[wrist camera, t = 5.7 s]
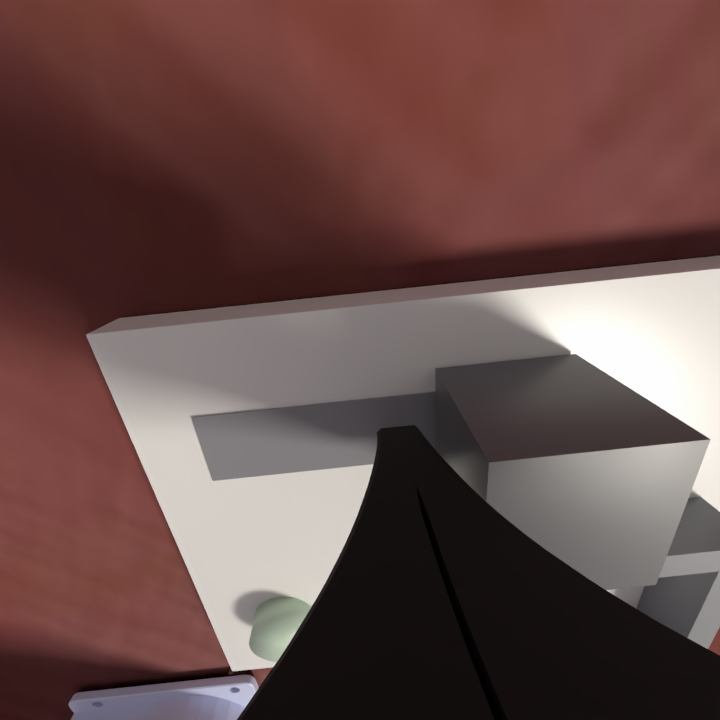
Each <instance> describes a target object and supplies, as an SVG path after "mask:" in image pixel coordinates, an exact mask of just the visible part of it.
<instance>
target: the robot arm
mask: <svg viewBox="0 0 720 720" xmlns="http://www.w3.org/2000/svg"><path fill="white" fill-rule="evenodd" d="M68 705H69V708H70V709H71V710H72V711H73V712H74V714H73V716H72V718H71V720H720V656H719V655H717V654H716V653H714V652H712V651H710V650H708V649H706V648H705V647H703V646H701V645H699V644H697V643H696V642H694V641H692V640H690V639H688V638H687V637H685V636H683V635H681V634H679V633H677V632H676V631H674V630H672V629H670V628H668V627H667V626H665V625H663V624H661V623H659V622H658V621H656V620H654V619H652V618H651V617H649V616H647V615H646V614H644V613H642V612H641V611H639V610H638V609H636V608H634V607H633V606H631V605H629V604H628V603H626V602H624V601H623V600H621V599H620V598H618V597H616V596H615V595H613V594H611V593H610V592H608V591H606V590H605V589H603V588H602V587H600V586H599V585H597V584H595V583H594V582H592V581H591V580H589V579H588V578H586V577H585V576H584V575H582V574H581V573H579V572H578V571H576V570H575V569H573V568H572V567H570V566H569V565H567V564H566V563H565V562H563V561H562V560H560V559H559V558H557V557H556V556H554V555H553V554H551V553H550V552H548V551H547V550H546V549H544V548H543V547H542V546H540V545H539V544H538V543H536V542H535V541H534V540H532V539H531V538H530V537H528V536H527V535H526V534H524V533H523V532H522V531H521V530H519V529H518V528H517V527H516V526H514V525H513V524H512V523H511V522H509V521H508V520H507V519H506V518H505V517H503V516H502V515H501V514H500V513H499V512H498V511H496V510H495V509H494V508H493V507H492V506H491V505H490V504H488V503H487V502H486V501H485V500H484V499H483V498H482V497H481V496H480V495H479V494H478V493H477V492H475V491H474V490H473V489H472V488H471V487H470V486H469V485H468V484H467V483H466V482H465V481H464V480H463V479H462V478H461V477H460V476H459V475H458V474H457V473H456V472H455V471H454V470H453V468H452V467H451V466H450V465H449V464H448V463H447V462H446V461H445V460H444V459H443V458H442V457H441V456H440V454H439V453H438V452H437V451H436V450H435V449H434V447H433V446H432V445H431V444H430V443H429V441H428V440H427V439H426V438H425V436H424V435H423V434H422V432H421V431H420V430H419V428H417V427H416V426H415V425H409V426H399V427H389V428H381V429H380V430H379V431H378V432H377V449H376V455H375V460H374V464H373V468H372V472H371V476H370V480H369V483H368V487H367V490H366V492H365V495H364V498H363V501H362V504H361V507H360V509H359V512H358V515H357V517H356V520H355V522H354V525H353V527H352V529H351V532H350V534H349V536H348V538H347V541H346V543H345V545H344V547H343V549H342V551H341V553H340V555H339V557H338V559H337V561H336V563H335V565H334V567H333V569H332V571H331V573H330V575H329V577H328V579H327V581H326V583H325V584H324V586H323V588H322V590H321V592H320V593H319V595H318V597H317V599H316V600H315V602H314V604H313V605H312V607H311V609H310V610H309V612H308V613H307V615H306V617H305V618H304V620H303V622H302V623H301V625H300V627H299V628H298V630H297V631H296V633H295V635H294V636H293V638H292V640H291V641H290V643H289V644H288V646H287V648H286V649H285V651H284V652H283V654H282V655H281V657H280V658H279V660H278V661H277V663H276V664H275V665H274V667H273V668H272V670H271V671H270V673H269V674H268V676H267V677H266V678H265V680H264V681H263V683H262V684H261V686H260V687H258V684H257V682H256V679H255V678H254V677H253V676H251V675H236V676H227V677H217V678H208V679H198V680H189V681H179V682H170V683H160V684H151V685H141V686H132V687H123V688H113V689H104V690H94V691H85V692H78V693H76V694H74V695H73V696H72V698H71V700H70V702H69V704H68Z"/></svg>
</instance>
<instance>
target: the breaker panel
mask: <svg viewBox="0 0 720 720" xmlns="http://www.w3.org/2000/svg"><path fill="white" fill-rule="evenodd" d="M86 337H87V339H88V341H89V343H90V346H91V348H92V350H93V353H94V355H95V357H96V359H97V362H98V364H99V366H100V369H101V371H102V373H103V376H104V378H105V380H106V382H107V385H108V387H109V389H110V392H111V394H112V396H113V399H114V401H115V403H116V405H117V408H118V410H119V412H120V415H121V417H122V419H123V421H124V424H125V426H126V428H127V431H128V433H129V435H130V438H131V440H132V442H133V444H134V447H135V449H136V451H137V454H138V456H139V458H140V461H141V463H142V465H143V467H144V470H145V472H146V474H147V477H148V479H149V481H150V483H151V486H152V488H153V490H154V493H155V495H156V497H157V500H158V502H159V504H160V506H161V509H162V511H163V513H164V516H165V518H166V520H167V523H168V525H169V527H170V529H171V532H172V534H173V536H174V539H175V541H176V543H177V545H178V548H179V550H180V552H181V555H182V557H183V559H184V562H185V564H186V566H187V568H188V571H189V573H190V575H191V578H192V580H193V582H194V585H195V587H196V589H197V591H198V594H199V596H200V598H201V601H202V603H203V605H204V608H205V610H206V612H207V614H208V617H209V619H210V621H211V624H212V626H213V628H214V630H215V633H216V635H217V637H218V640H219V642H220V644H221V647H222V649H223V651H224V653H225V656H226V658H227V660H228V663H229V665H230V667H231V670H232V671H241V670H251V669H260V668H270V667H274V665H275V664H276V663H277V661H278V660H279V658H280V657H281V655H282V654H283V652H284V651H285V649H286V648H287V646H288V644H289V643H290V641H291V640H292V638H293V636H294V635H295V633H296V631H297V630H298V628H299V627H300V625H301V623H302V622H303V620H304V618H305V617H306V615H307V613H308V612H309V610H310V609H311V607H312V605H313V604H314V602H315V600H316V599H317V597H318V595H319V593H320V592H321V590H322V588H323V586H324V584H325V583H326V581H327V579H328V577H329V575H330V573H331V571H332V569H333V567H334V565H335V563H336V561H337V559H338V557H339V555H340V553H341V551H342V549H343V547H344V545H345V543H346V541H347V538H348V536H349V534H350V532H351V529H352V527H353V525H354V522H355V520H356V517H357V515H358V512H359V509H360V507H361V504H362V501H363V498H364V495H365V492H366V490H367V487H368V483H369V480H370V476H371V472H372V468H373V464H374V460H375V455H376V449H377V432H378V431H379V430H380V429H381V428H389V427H399V426H409V425H415V426H416V427H417V428H419V430H420V431H421V432H422V434H423V435H424V436H425V438H426V439H427V440H428V441H429V443H430V444H431V445H432V446H433V447H434V449H435V450H436V380H435V368H444V367H454V366H463V365H473V364H482V363H492V362H501V361H511V360H521V359H530V358H540V357H549V356H559V355H568V354H577V355H578V356H580V357H581V358H583V359H585V360H586V361H588V362H589V363H591V364H593V365H594V366H596V367H597V368H599V369H600V370H602V371H604V372H605V373H607V374H608V375H610V376H611V377H613V378H615V379H616V380H618V381H619V382H621V383H622V384H624V385H626V386H627V387H629V388H630V389H632V390H634V391H635V392H637V393H638V394H640V395H641V396H643V397H645V398H646V399H648V400H649V401H651V402H652V403H654V404H656V405H657V406H659V407H660V408H662V409H664V410H665V411H667V412H668V413H670V414H671V415H673V416H675V417H676V418H678V419H679V420H681V421H682V422H684V423H686V424H687V425H689V426H690V427H692V428H694V429H695V430H697V431H698V432H700V433H701V434H703V435H705V436H706V437H708V438H709V439H711V440H710V442H709V445H708V448H707V450H706V453H705V456H704V458H703V461H702V464H701V466H700V469H699V472H698V474H697V477H696V480H695V482H694V485H693V488H692V490H691V493H690V496H689V498H688V501H687V504H686V506H685V509H684V512H683V514H682V517H681V520H680V522H679V525H678V528H677V530H676V533H675V536H674V538H673V541H672V544H671V546H670V549H669V552H668V554H667V557H666V560H665V562H664V565H663V567H662V570H661V573H660V575H659V578H658V581H657V583H656V585H650V586H640V587H631V588H622V589H612V590H606V591H608V592H610V593H611V594H613V595H615V596H616V597H618V598H620V599H621V600H623V601H624V602H626V603H628V604H629V605H631V606H633V607H634V608H636V609H638V610H639V611H641V612H642V613H644V614H646V615H647V616H649V617H651V618H652V619H654V620H656V621H658V622H659V623H661V624H663V625H665V626H667V627H668V628H670V629H672V630H674V631H676V632H677V633H679V634H681V635H683V636H685V637H687V638H688V639H690V640H692V641H694V642H696V643H697V644H699V645H701V646H703V647H705V648H706V649H708V648H709V646H710V644H711V642H712V640H713V638H714V636H715V634H716V633H717V631H718V629H719V627H720V256H710V257H700V258H691V259H681V260H672V261H662V262H652V263H643V264H633V265H624V266H614V267H604V268H595V269H585V270H576V271H566V272H556V273H547V274H537V275H528V276H518V277H508V278H499V279H489V280H480V281H470V282H460V283H451V284H441V285H432V286H422V287H412V288H403V289H393V290H384V291H374V292H364V293H355V294H345V295H336V296H326V297H317V298H307V299H297V300H288V301H278V302H269V303H259V304H249V305H240V306H230V307H221V308H211V309H201V310H192V311H182V312H173V313H163V314H153V315H144V316H134V317H125V318H118V319H116V320H114V321H112V322H110V323H108V324H106V325H104V326H102V327H100V328H98V329H96V330H94V331H92V332H90V333H88V334H86Z"/></svg>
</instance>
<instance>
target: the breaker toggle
mask: <svg viewBox="0 0 720 720" xmlns="http://www.w3.org/2000/svg"><path fill="white" fill-rule="evenodd" d="M435 380H436V451H437V452H438V453H439V454H440V456H441V457H442V458H443V459H444V460H445V461H446V462H447V463H448V464H449V465H450V466H451V467H452V468H453V470H454V471H455V472H456V473H457V474H458V475H459V476H460V477H461V478H462V479H463V480H464V481H465V482H466V483H467V484H468V485H469V486H470V487H471V488H472V489H473V490H474V491H475V492H477V493H478V494H479V495H480V496H481V497H482V498H483V499H484V500H485V501H486V502H487V503H488V504H490V505H491V506H492V507H493V508H494V509H495V510H496V511H498V512H499V513H500V514H501V515H502V516H503V517H505V518H506V519H507V520H508V521H509V522H511V523H512V524H513V525H514V526H516V527H517V528H518V529H519V530H521V531H522V532H523V533H524V534H526V535H527V536H528V537H530V538H531V539H532V540H534V541H535V542H536V543H538V544H539V545H540V546H542V547H543V548H544V549H546V550H547V551H548V552H550V553H551V554H553V555H554V556H556V557H557V558H559V559H560V560H562V561H563V562H565V563H566V564H567V565H569V566H570V567H572V568H573V569H575V570H576V571H578V572H579V573H581V574H582V575H584V576H585V577H586V578H588V579H589V580H591V581H592V582H594V583H595V584H597V585H599V586H600V587H602V588H603V589H605V590H612V589H622V588H631V587H640V586H650V585H656V583H657V581H658V578H659V575H660V573H661V570H662V567H663V565H664V562H665V560H666V557H667V554H668V552H669V549H670V546H671V544H672V541H673V538H674V536H675V533H676V530H677V528H678V525H679V522H680V520H681V517H682V514H683V512H684V509H685V506H686V504H687V501H688V498H689V496H690V493H691V490H692V488H693V485H694V482H695V480H696V477H697V474H698V472H699V469H700V466H701V464H702V461H703V458H704V456H705V453H706V450H707V448H708V445H709V442H710V440H711V439H709V438H708V437H706V436H705V435H703V434H701V433H700V432H698V431H697V430H695V429H694V428H692V427H690V426H689V425H687V424H686V423H684V422H682V421H681V420H679V419H678V418H676V417H675V416H673V415H671V414H670V413H668V412H667V411H665V410H664V409H662V408H660V407H659V406H657V405H656V404H654V403H652V402H651V401H649V400H648V399H646V398H645V397H643V396H641V395H640V394H638V393H637V392H635V391H634V390H632V389H630V388H629V387H627V386H626V385H624V384H622V383H621V382H619V381H618V380H616V379H615V378H613V377H611V376H610V375H608V374H607V373H605V372H604V371H602V370H600V369H599V368H597V367H596V366H594V365H593V364H591V363H589V362H588V361H586V360H585V359H583V358H581V357H580V356H578V355H577V354H568V355H559V356H549V357H540V358H530V359H521V360H511V361H501V362H492V363H482V364H473V365H463V366H454V367H444V368H435Z"/></svg>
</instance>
